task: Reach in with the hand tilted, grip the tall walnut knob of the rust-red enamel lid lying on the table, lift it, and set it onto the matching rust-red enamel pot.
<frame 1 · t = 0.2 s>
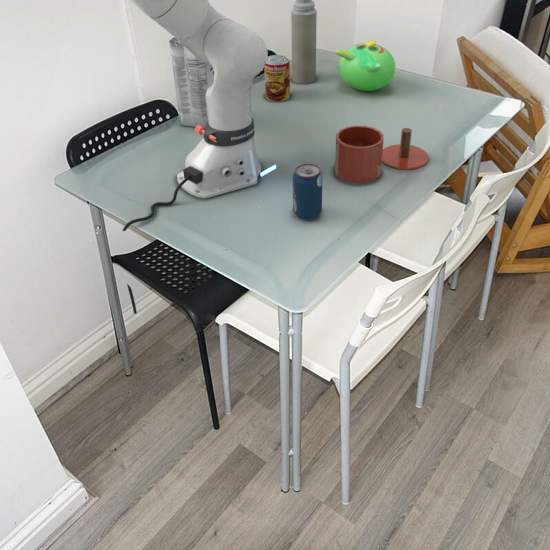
pot: (357, 172, 163), on the table
thermos bottle: (303, 79, 210), on the table
lid: (403, 157, 167), point 1 cm above the table
toy bird: (364, 89, 203), on the table
soda can: (307, 214, 149), on the table
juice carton: (199, 123, 188), on the table
canned food: (277, 96, 200), on the table
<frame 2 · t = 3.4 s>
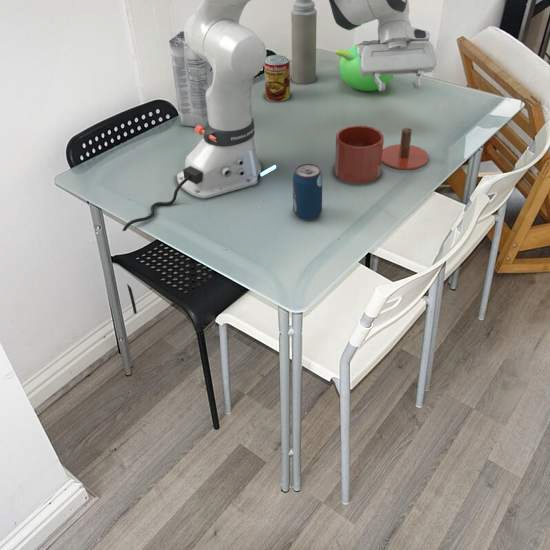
hand: (399, 89, 166), 15 cm above the table, tool tilted 45°, fingers open, 8 cm apart
nothing on the table moved.
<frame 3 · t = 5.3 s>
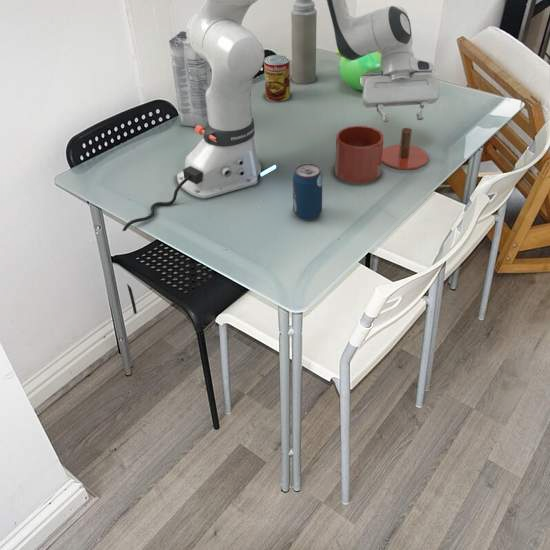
hand: (403, 120, 165), 9 cm above the table, tool tilted 45°, fingers open, 8 cm apart
nothing on the table moved.
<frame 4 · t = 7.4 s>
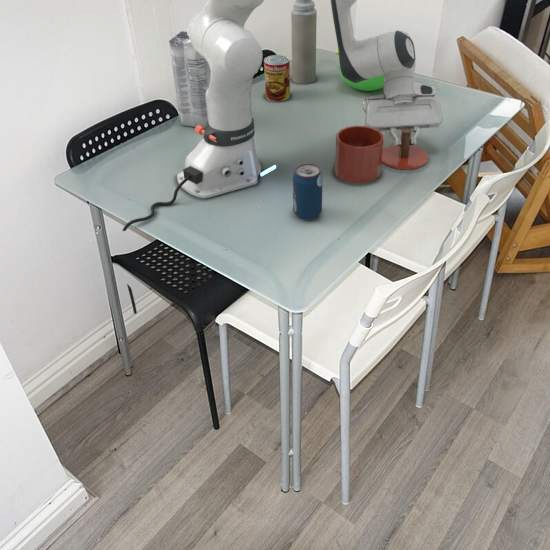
hand: (405, 145, 164), 5 cm above the table, tool tilted 45°, fingers closed on lid, 2 cm apart
lid: (403, 157, 167), point 1 cm above the table, touching gripper
everything else where it was.
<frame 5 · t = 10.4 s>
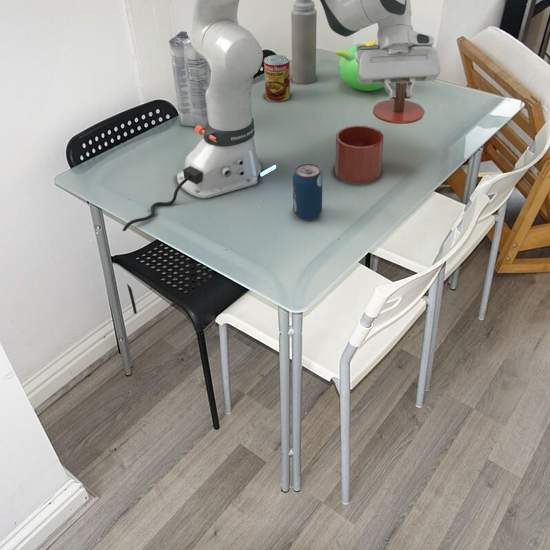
hand: (400, 98, 154), 18 cm above the table, tool tilted 45°, fingers closed on lid, 2 cm apart
lid: (398, 112, 157), point 14 cm above the table, touching gripper
everything else where it was.
when the fingers open (14 cm above the table, at t = 13.6 s): lid stays where it is, resting on pot.
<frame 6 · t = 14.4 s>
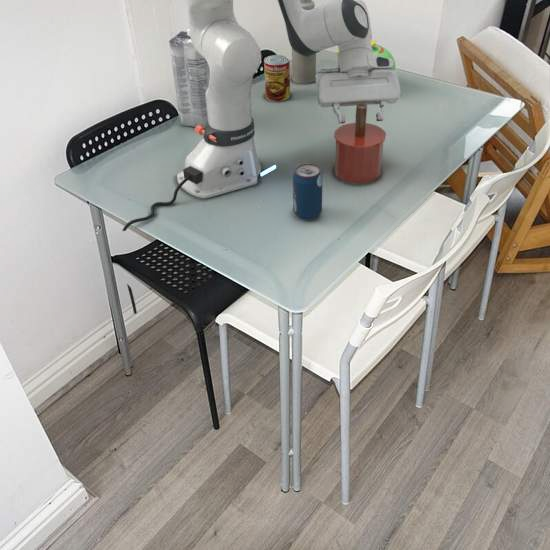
hand: (361, 121, 153), 15 cm above the table, tool tilted 45°, fingers open, 8 cm apart
lid: (359, 136, 156), point 10 cm above the table, touching pot
everything else where it was.
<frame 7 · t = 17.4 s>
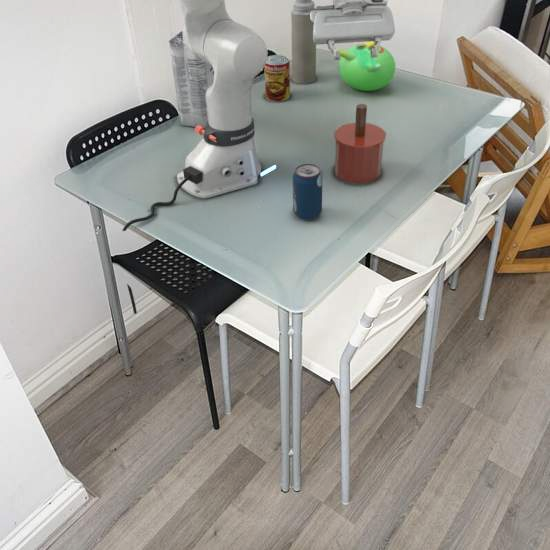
hand: (355, 57, 154), 26 cm above the table, tool tilted 45°, fingers open, 8 cm apart
nothing on the table moved.
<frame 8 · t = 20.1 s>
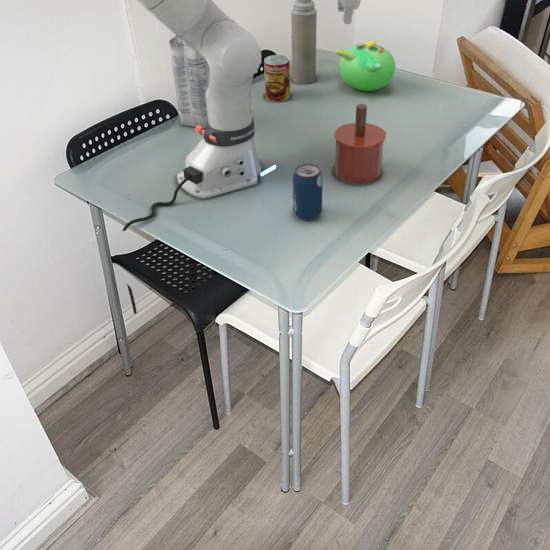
hand: (344, 16, 154), 34 cm above the table, tool pointing down, fingers open, 8 cm apart
nothing on the table moved.
at the end: lid 0.1 cm off-centre on the pot, point 10.5 cm above the pot's base; lid tilted 0°; the gripper is holding nothing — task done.
